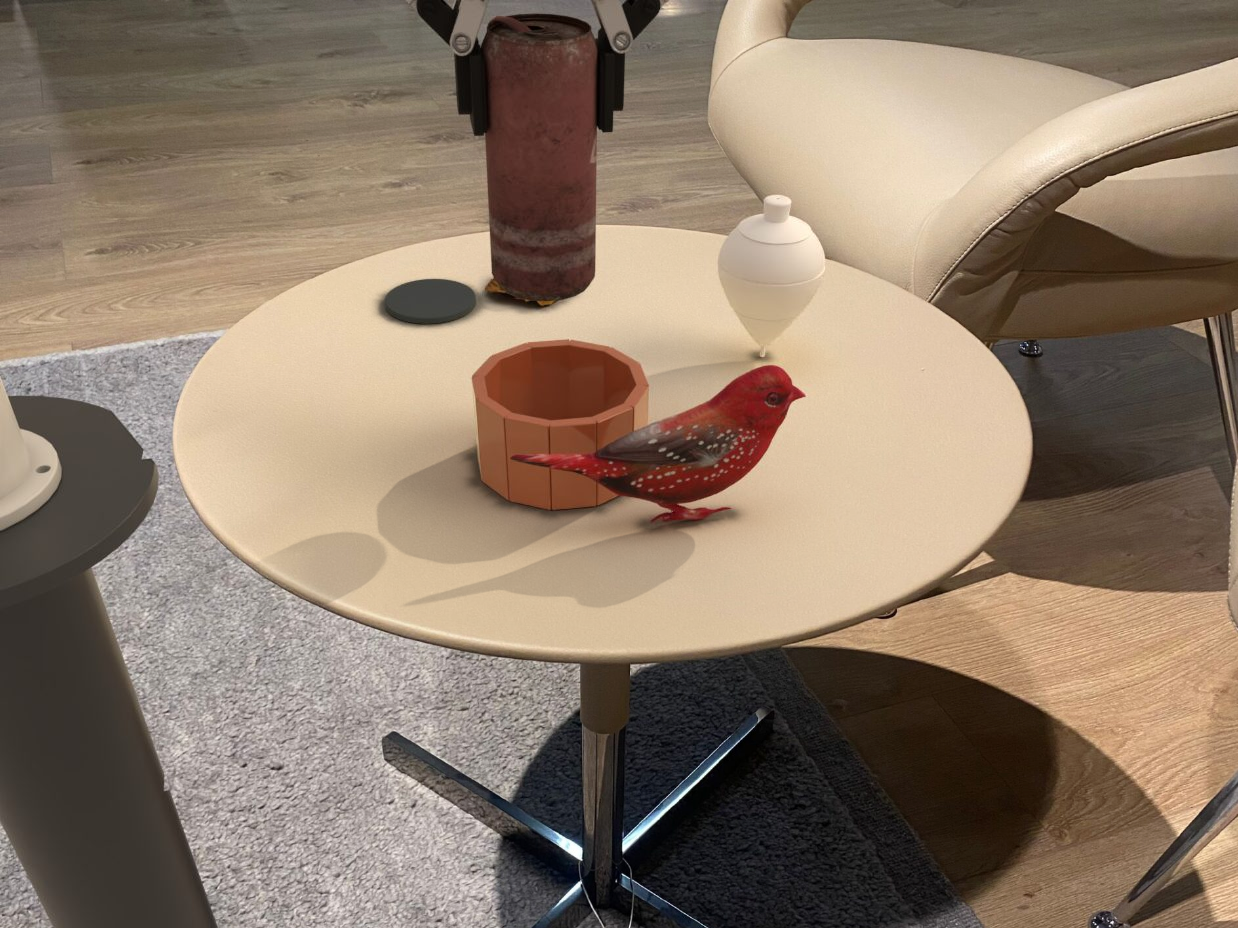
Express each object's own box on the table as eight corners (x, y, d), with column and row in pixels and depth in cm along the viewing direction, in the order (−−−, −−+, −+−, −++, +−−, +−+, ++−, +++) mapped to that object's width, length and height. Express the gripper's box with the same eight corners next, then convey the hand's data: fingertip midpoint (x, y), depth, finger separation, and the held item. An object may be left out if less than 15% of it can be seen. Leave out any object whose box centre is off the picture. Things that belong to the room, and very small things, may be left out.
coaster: (387, 327, 92) (386, 321, 92) (383, 287, 98) (383, 281, 97) (479, 320, 93) (479, 314, 93) (471, 281, 99) (471, 275, 98)
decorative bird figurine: (800, 518, 74) (820, 373, 67) (519, 559, 70) (511, 410, 64) (783, 492, 76) (801, 349, 69) (510, 531, 72) (501, 384, 66)
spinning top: (831, 371, 88) (854, 211, 80) (738, 389, 86) (752, 226, 78) (784, 326, 93) (801, 172, 86) (695, 342, 91) (704, 185, 83)
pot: (487, 516, 73) (481, 432, 69) (472, 426, 81) (465, 346, 77) (659, 500, 75) (662, 417, 71) (627, 413, 83) (628, 334, 79)
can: (513, 252, 74) (504, 3, 64) (609, 269, 72) (614, 17, 63) (471, 291, 69) (455, 30, 60) (572, 311, 68) (571, 46, 59)
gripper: (703, -290, 57) (680, 101, 69) (337, -301, 55) (378, 108, 66) (742, -278, 52) (710, 145, 63) (337, -290, 49) (381, 155, 61)
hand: (540, 123), depth 65 cm, fingers closed on can, 6 cm apart
